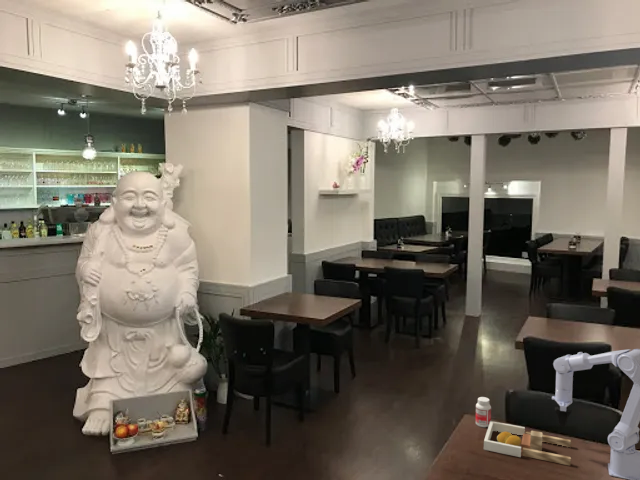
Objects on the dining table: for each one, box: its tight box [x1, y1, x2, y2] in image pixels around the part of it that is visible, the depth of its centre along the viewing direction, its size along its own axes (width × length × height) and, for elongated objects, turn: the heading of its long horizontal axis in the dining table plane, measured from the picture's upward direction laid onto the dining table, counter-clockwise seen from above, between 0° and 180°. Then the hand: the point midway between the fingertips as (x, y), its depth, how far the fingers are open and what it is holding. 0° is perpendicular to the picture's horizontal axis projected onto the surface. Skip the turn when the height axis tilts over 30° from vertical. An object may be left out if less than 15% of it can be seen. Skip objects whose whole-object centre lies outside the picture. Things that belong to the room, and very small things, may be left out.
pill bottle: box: [475, 396, 492, 428], centre depth 211 cm, size 6×6×11 cm
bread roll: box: [496, 432, 522, 447], centre depth 196 cm, size 8×9×4 cm
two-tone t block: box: [521, 430, 544, 453], centre depth 192 cm, size 7×9×6 cm
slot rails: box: [522, 431, 572, 466], centre depth 190 cm, size 16×15×2 cm
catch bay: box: [483, 420, 526, 458], centre depth 197 cm, size 13×18×4 cm
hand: (562, 421), depth 192 cm, fingers open, 7 cm apart
